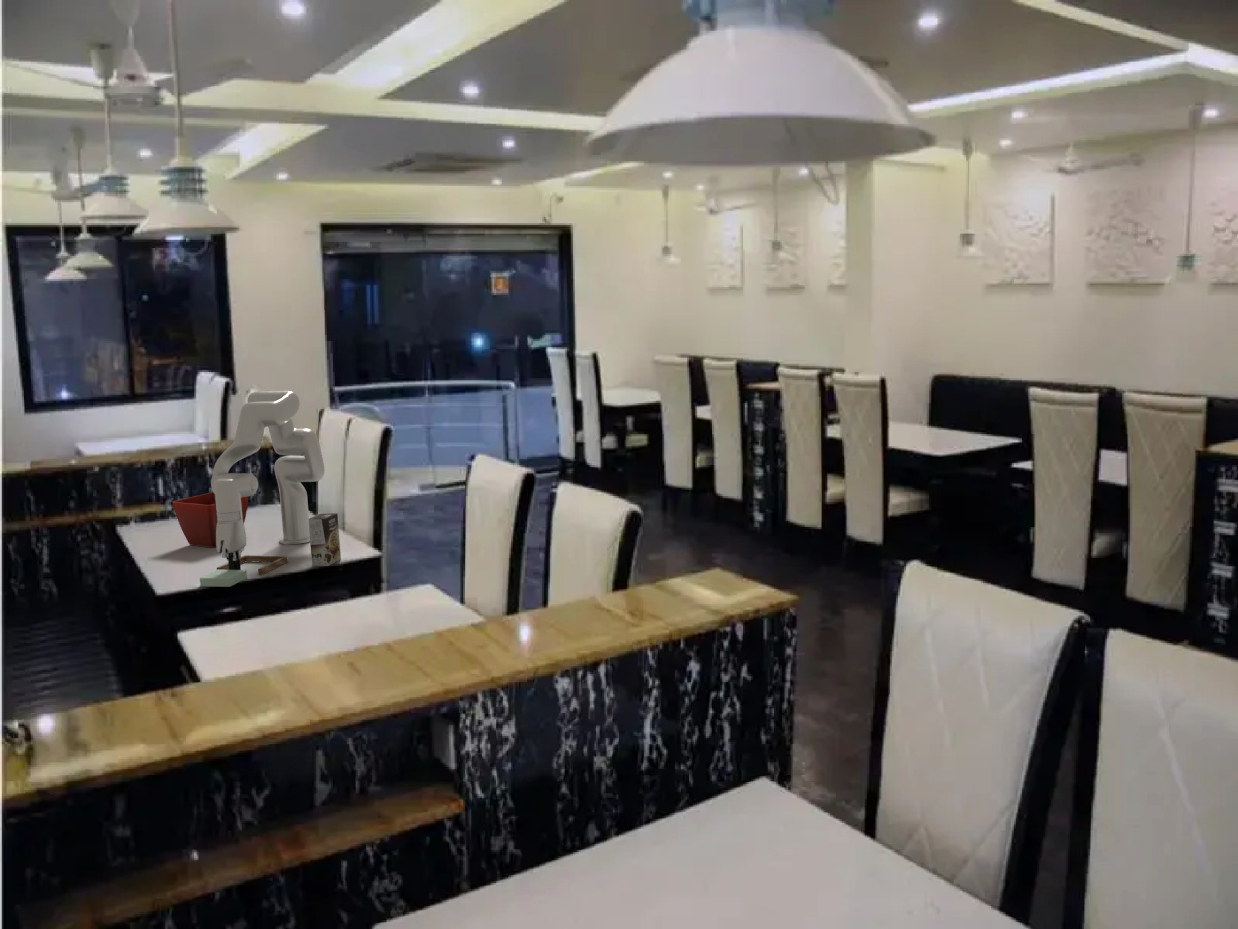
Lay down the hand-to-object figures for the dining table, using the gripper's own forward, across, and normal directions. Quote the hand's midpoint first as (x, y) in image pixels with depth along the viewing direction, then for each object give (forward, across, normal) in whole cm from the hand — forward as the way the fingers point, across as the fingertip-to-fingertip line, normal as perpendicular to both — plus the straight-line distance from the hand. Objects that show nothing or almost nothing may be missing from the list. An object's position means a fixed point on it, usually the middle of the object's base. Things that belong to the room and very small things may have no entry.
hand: (235, 571), depth 324 cm
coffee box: (+2, -19, +22) cm, 29 cm away
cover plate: (+2, +7, 0) cm, 7 cm away
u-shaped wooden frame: (+1, -10, 0) cm, 10 cm away
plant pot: (+2, -41, -35) cm, 54 cm away
